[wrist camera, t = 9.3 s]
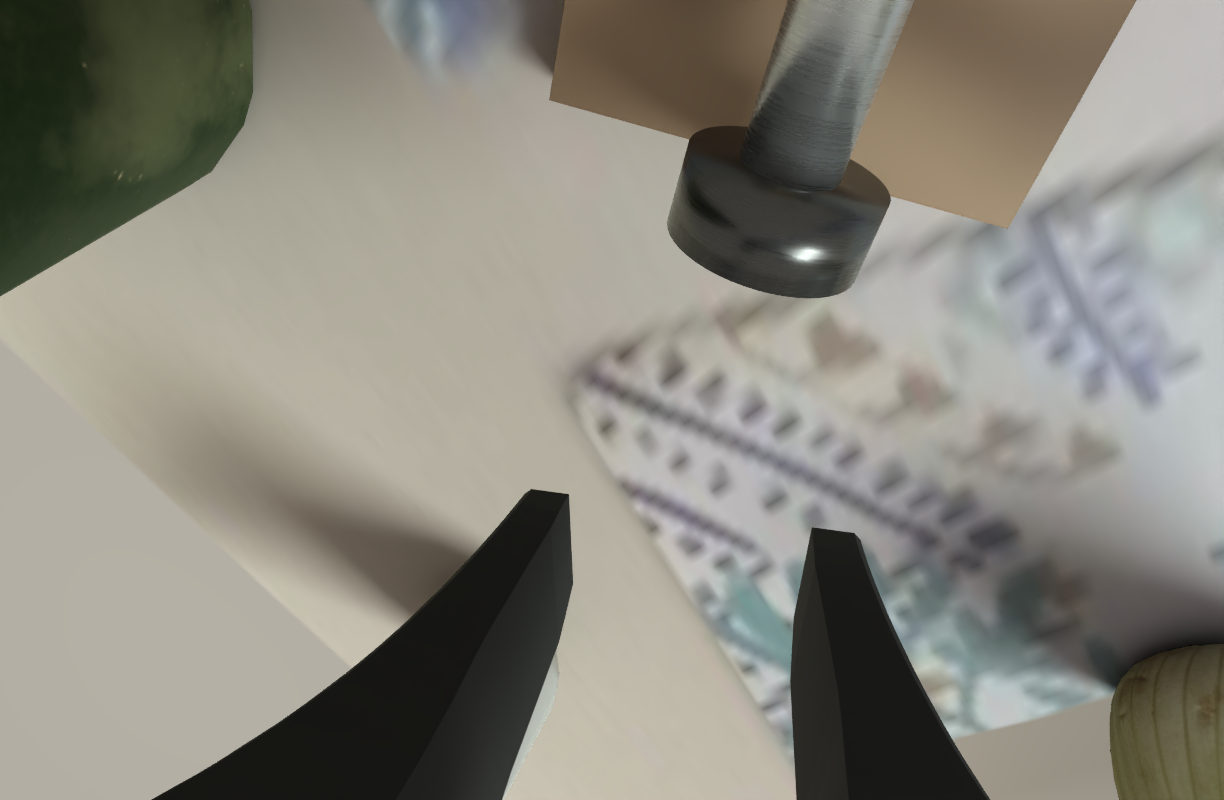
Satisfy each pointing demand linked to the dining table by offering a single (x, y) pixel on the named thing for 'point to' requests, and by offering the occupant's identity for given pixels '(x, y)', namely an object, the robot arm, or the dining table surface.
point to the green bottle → (110, 115)
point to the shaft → (795, 159)
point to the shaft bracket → (905, 101)
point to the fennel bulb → (1170, 726)
